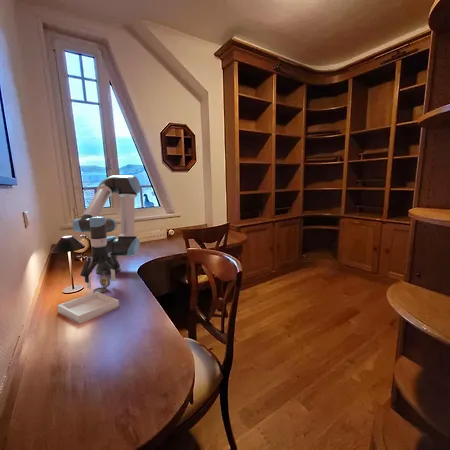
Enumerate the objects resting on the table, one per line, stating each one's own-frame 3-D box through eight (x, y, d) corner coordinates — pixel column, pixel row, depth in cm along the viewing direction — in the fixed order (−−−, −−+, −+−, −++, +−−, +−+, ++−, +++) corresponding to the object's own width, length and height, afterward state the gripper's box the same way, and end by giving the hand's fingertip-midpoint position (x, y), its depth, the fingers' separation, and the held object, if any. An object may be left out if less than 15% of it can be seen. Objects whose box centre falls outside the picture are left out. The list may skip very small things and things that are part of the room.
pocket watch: (92, 294, 131) (90, 275, 130) (95, 288, 139) (94, 271, 138) (109, 292, 133) (107, 274, 132) (111, 287, 141) (110, 269, 140)
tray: (97, 298, 126) (97, 291, 126) (119, 307, 116) (118, 300, 116) (58, 312, 111) (57, 305, 111) (79, 324, 101) (78, 316, 101)
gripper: (78, 251, 121) (81, 293, 123) (124, 242, 141) (126, 279, 144) (70, 249, 125) (74, 290, 128) (116, 241, 146) (118, 276, 148)
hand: (101, 284), depth 136 cm, fingers open, 13 cm apart
